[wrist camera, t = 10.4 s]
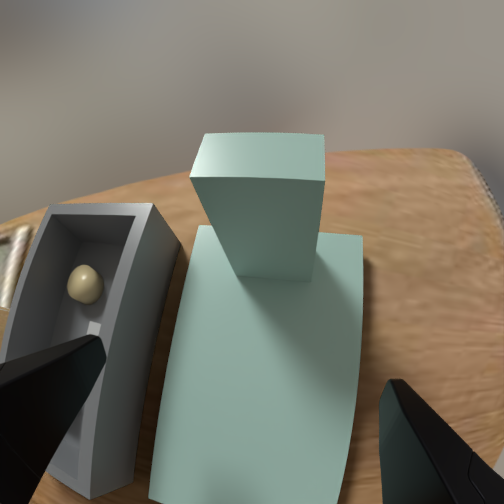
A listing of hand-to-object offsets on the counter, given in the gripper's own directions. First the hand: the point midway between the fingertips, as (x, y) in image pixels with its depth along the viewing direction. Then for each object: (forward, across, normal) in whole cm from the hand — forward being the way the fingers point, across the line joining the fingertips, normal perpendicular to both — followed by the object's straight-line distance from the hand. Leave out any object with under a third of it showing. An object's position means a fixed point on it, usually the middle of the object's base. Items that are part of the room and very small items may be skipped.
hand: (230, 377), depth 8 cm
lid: (+5, 0, +5) cm, 8 cm away
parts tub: (+5, +11, +5) cm, 13 cm away
